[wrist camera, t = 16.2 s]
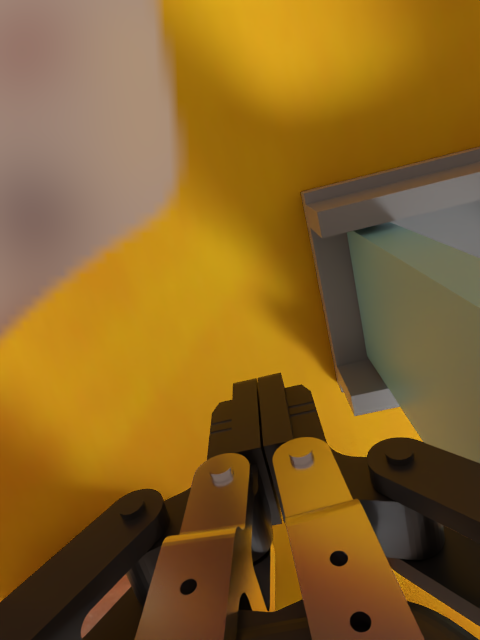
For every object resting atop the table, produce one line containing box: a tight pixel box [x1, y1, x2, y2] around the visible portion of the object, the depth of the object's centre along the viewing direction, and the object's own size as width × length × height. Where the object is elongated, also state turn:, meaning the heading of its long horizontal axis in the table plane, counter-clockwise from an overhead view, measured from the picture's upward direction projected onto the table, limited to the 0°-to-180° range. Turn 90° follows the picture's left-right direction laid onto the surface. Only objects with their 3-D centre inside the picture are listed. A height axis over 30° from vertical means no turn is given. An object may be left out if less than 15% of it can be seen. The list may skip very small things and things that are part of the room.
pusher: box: [347, 222, 480, 463], centre depth 15 cm, size 6×2×12 cm, turn 14°
